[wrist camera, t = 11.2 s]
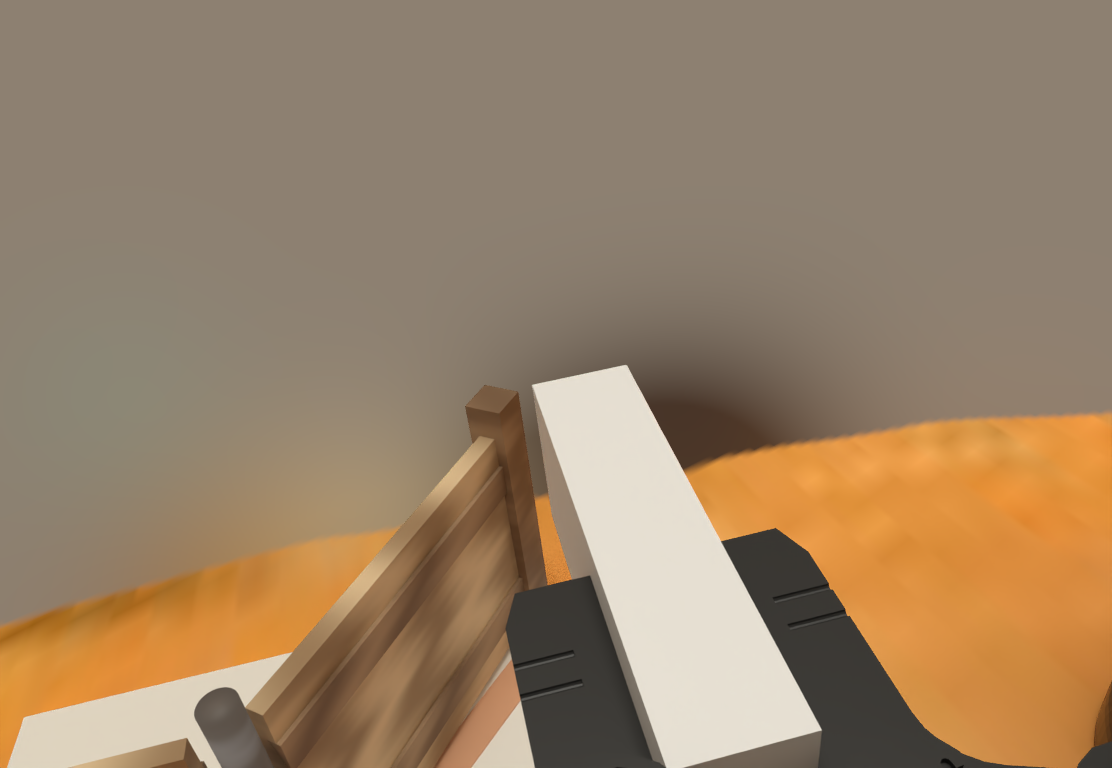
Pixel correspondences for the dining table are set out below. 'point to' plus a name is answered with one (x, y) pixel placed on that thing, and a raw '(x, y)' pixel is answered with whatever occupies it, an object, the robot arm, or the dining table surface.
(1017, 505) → the dining table surface
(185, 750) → the fixed fence section
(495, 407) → the hinged fence section
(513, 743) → the card
